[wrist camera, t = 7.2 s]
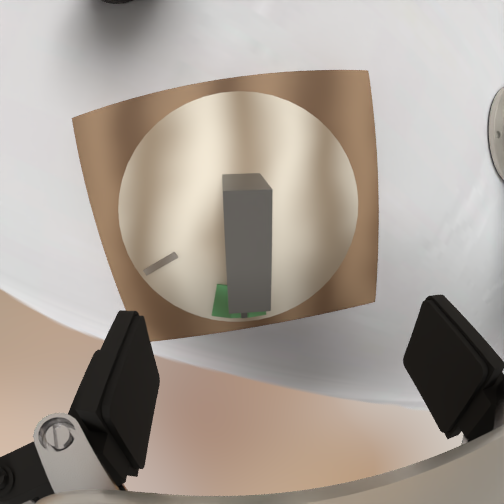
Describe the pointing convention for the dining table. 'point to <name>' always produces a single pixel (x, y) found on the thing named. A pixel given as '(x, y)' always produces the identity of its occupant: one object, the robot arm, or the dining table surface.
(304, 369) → the dining table surface
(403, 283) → the dining table surface
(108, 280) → the dining table surface
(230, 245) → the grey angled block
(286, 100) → the brown wooden flat block
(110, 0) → the travel mug
